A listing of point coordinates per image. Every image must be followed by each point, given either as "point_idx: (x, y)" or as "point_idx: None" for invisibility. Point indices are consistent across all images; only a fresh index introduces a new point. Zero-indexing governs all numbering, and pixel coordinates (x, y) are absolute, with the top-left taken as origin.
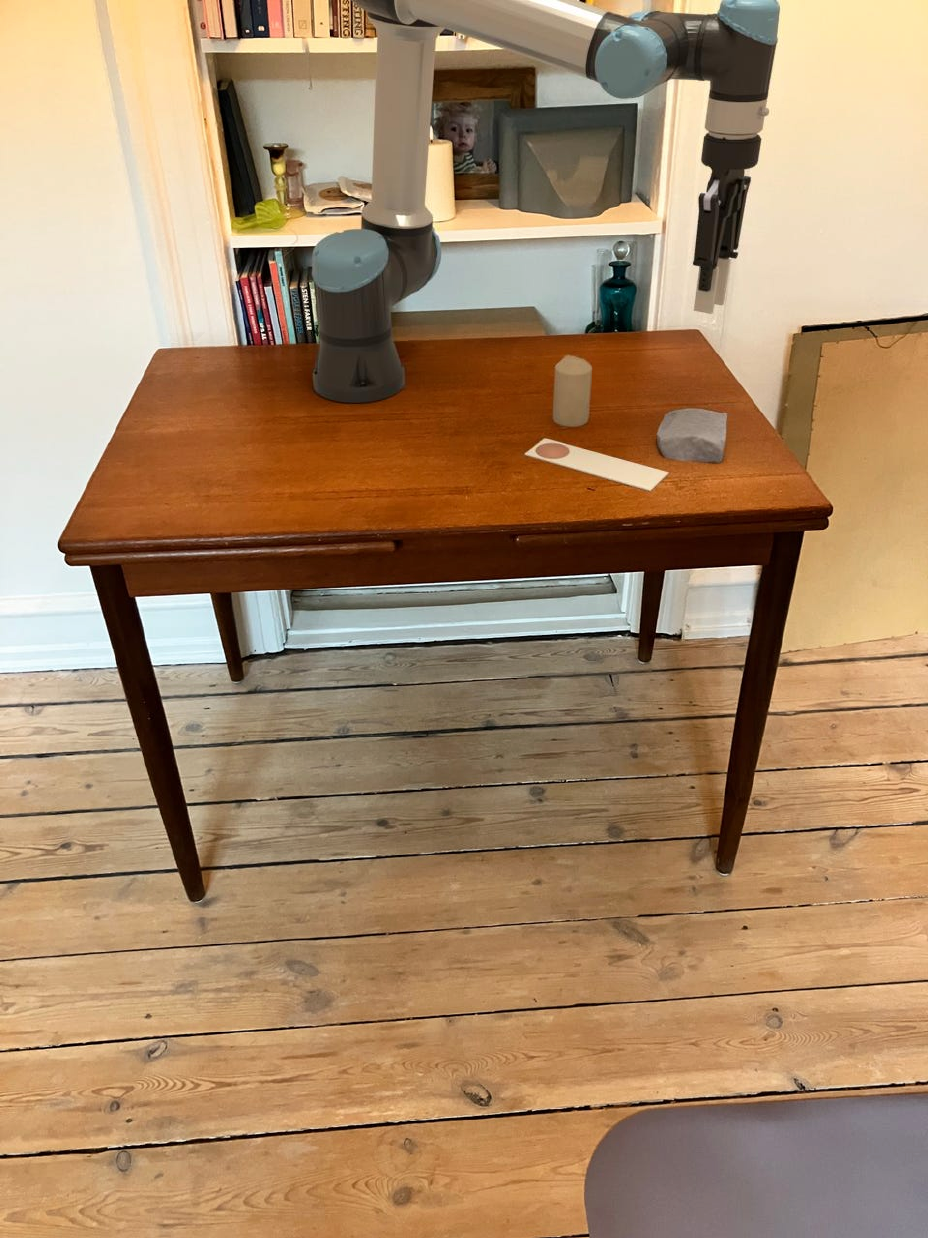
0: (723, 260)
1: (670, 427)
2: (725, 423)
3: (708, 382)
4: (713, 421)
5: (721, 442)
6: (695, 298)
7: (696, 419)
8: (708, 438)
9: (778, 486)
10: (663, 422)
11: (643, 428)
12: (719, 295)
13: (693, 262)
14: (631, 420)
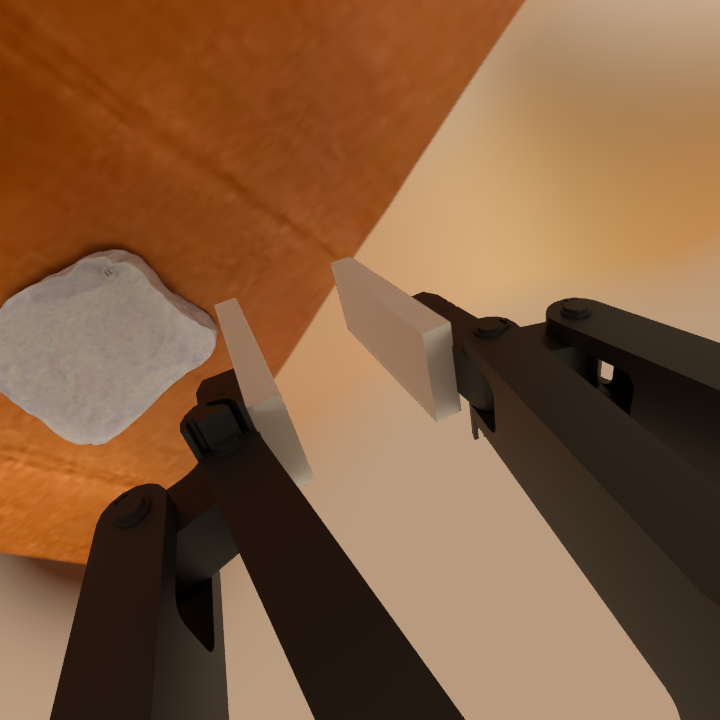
0: (431, 396)
1: (49, 314)
2: (175, 380)
3: (379, 143)
4: (150, 370)
5: (91, 443)
6: (220, 325)
7: (121, 342)
8: (62, 434)
9: None
10: (50, 284)
11: (40, 211)
12: (357, 329)
13: (182, 429)
14: (40, 152)
